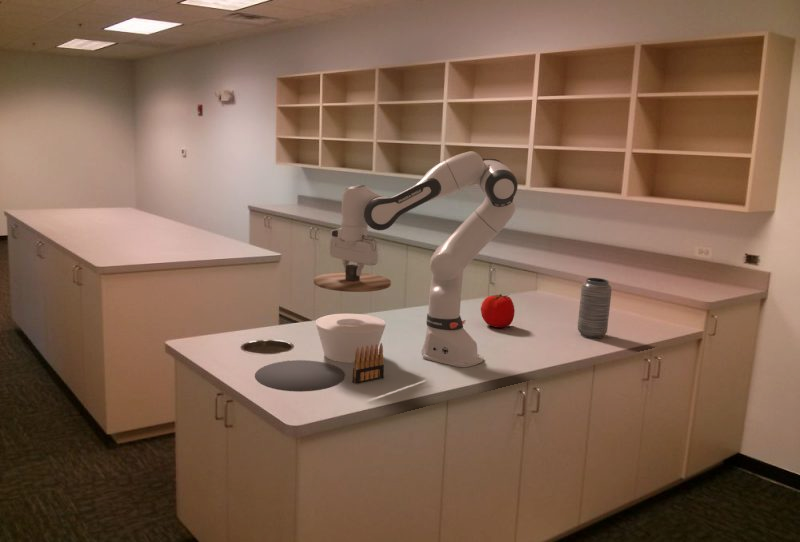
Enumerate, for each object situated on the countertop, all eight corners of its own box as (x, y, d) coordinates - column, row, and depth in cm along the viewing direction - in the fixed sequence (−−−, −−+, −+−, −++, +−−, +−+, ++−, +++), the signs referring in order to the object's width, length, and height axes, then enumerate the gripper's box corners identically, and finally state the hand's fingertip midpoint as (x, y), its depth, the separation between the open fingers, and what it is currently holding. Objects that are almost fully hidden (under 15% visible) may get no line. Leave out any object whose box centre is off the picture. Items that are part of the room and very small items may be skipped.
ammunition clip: (380, 378, 217) (382, 341, 215) (383, 380, 215) (385, 343, 213) (352, 384, 211) (353, 346, 208) (355, 386, 209) (356, 348, 207)
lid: (406, 285, 233) (407, 267, 232) (351, 295, 214) (351, 276, 213) (353, 272, 250) (354, 256, 249) (297, 281, 231) (298, 263, 230)
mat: (363, 378, 216) (363, 376, 216) (293, 400, 195) (293, 398, 195) (305, 356, 234) (306, 354, 234) (236, 374, 214) (236, 372, 213)
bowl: (309, 347, 244) (309, 314, 242) (374, 344, 252) (375, 312, 249) (322, 369, 222) (323, 334, 220) (392, 365, 229) (394, 331, 227)
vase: (581, 329, 285) (587, 275, 281) (609, 334, 280) (615, 279, 275) (573, 335, 275) (578, 280, 271) (602, 341, 270) (608, 284, 265)
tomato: (520, 330, 280) (522, 297, 277) (490, 332, 275) (492, 299, 272) (500, 320, 294) (503, 289, 291) (472, 321, 289) (474, 290, 286)
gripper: (383, 237, 224) (381, 278, 227) (340, 229, 238) (339, 268, 240) (369, 238, 219) (367, 280, 222) (326, 230, 233) (325, 270, 236)
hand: (352, 274), depth 231 cm, fingers closed on lid, 3 cm apart
